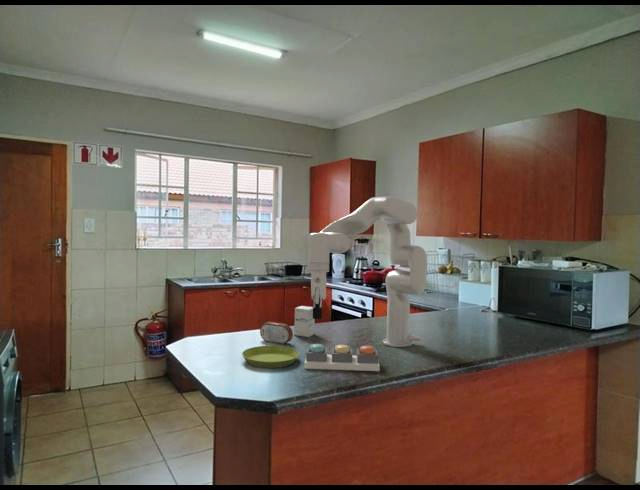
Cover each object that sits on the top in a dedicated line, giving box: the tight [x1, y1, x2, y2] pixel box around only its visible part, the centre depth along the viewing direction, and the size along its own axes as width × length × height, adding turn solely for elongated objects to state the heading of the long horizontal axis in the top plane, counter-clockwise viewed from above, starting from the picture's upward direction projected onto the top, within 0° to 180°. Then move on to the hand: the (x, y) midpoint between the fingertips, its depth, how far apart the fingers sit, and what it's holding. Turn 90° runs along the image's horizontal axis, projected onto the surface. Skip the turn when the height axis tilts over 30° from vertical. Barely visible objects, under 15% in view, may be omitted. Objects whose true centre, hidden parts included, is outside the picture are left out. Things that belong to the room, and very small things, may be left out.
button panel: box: [303, 346, 381, 372], centre depth 156 cm, size 26×11×5 cm, turn 87°
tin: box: [259, 321, 294, 345], centre depth 186 cm, size 15×3×8 cm, turn 65°
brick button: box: [359, 345, 375, 354], centre depth 156 cm, size 5×5×3 cm
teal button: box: [309, 343, 325, 353], centre depth 157 cm, size 5×5×3 cm
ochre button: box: [334, 344, 350, 354], centre depth 156 cm, size 5×5×3 cm
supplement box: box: [293, 305, 316, 338], centre depth 200 cm, size 7×7×13 cm
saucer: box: [241, 345, 300, 369], centre depth 160 cm, size 21×21×3 cm
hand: (317, 318), depth 156 cm, fingers closed
